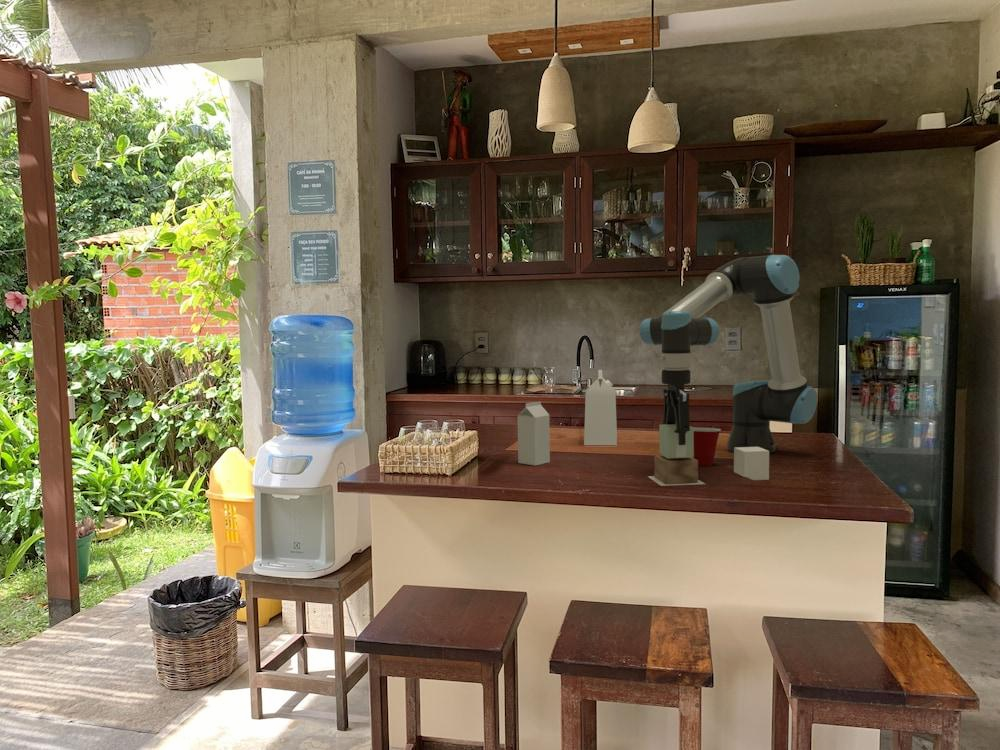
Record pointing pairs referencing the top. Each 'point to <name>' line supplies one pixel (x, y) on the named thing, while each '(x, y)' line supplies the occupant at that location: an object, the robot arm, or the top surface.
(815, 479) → the top surface
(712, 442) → the plastic cup
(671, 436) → the sage brick
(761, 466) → the cream brick
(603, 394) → the milk
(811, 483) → the top surface
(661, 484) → the plate
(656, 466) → the walnut base brick
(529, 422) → the milk carton
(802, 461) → the top surface
